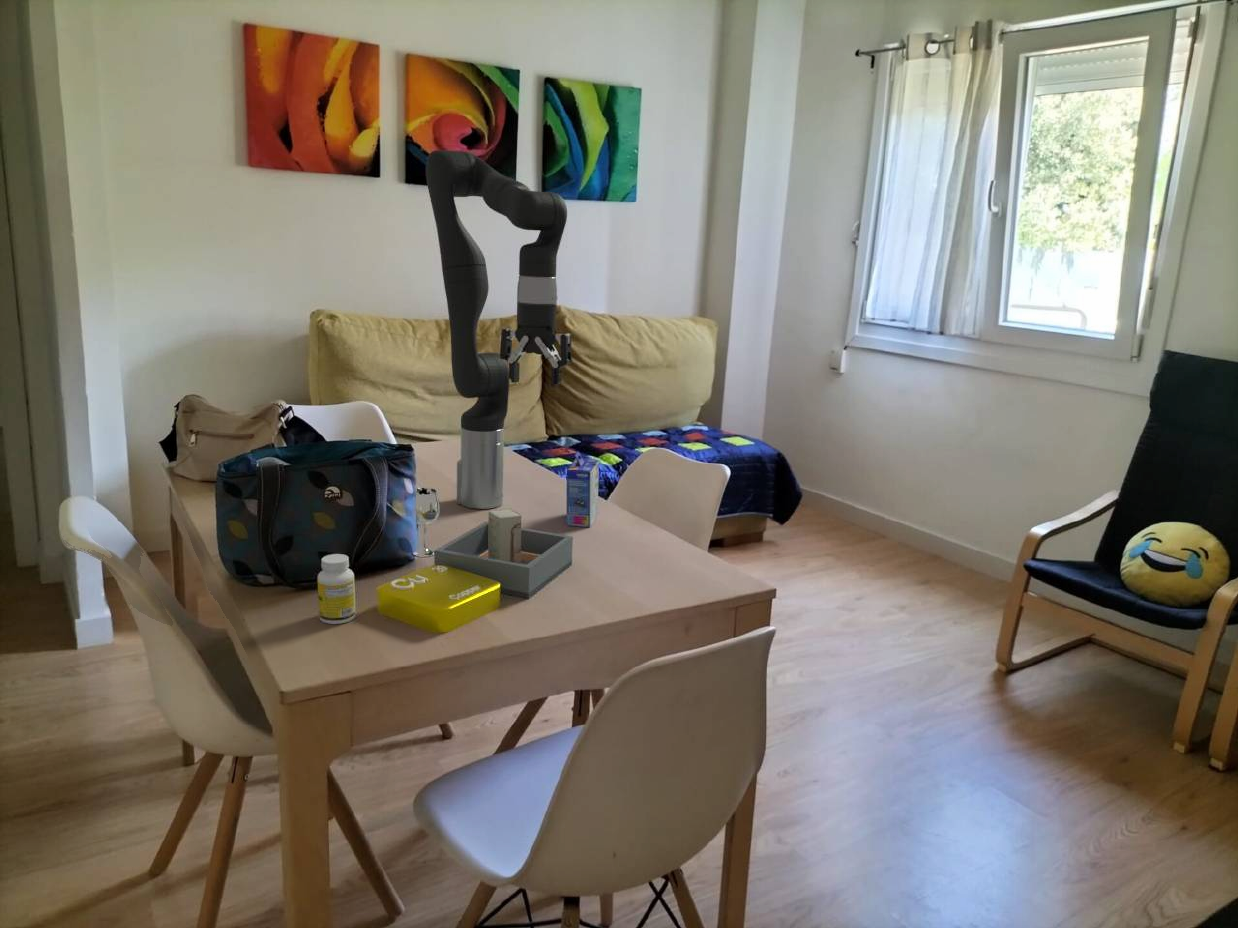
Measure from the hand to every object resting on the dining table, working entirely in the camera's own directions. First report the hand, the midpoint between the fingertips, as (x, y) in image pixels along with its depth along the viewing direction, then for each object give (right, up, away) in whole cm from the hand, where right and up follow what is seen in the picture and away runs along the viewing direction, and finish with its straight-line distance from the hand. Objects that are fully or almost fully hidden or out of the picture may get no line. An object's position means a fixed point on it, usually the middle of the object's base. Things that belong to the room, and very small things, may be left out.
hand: (534, 384), depth 180 cm
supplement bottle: (-27, -40, -37) cm, 61 cm away
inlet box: (-4, -35, -16) cm, 38 cm away
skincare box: (-4, -34, -16) cm, 38 cm away
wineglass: (-20, -32, -8) cm, 39 cm away
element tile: (-12, -39, -31) cm, 52 cm away
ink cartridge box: (+8, -28, +16) cm, 33 cm away
